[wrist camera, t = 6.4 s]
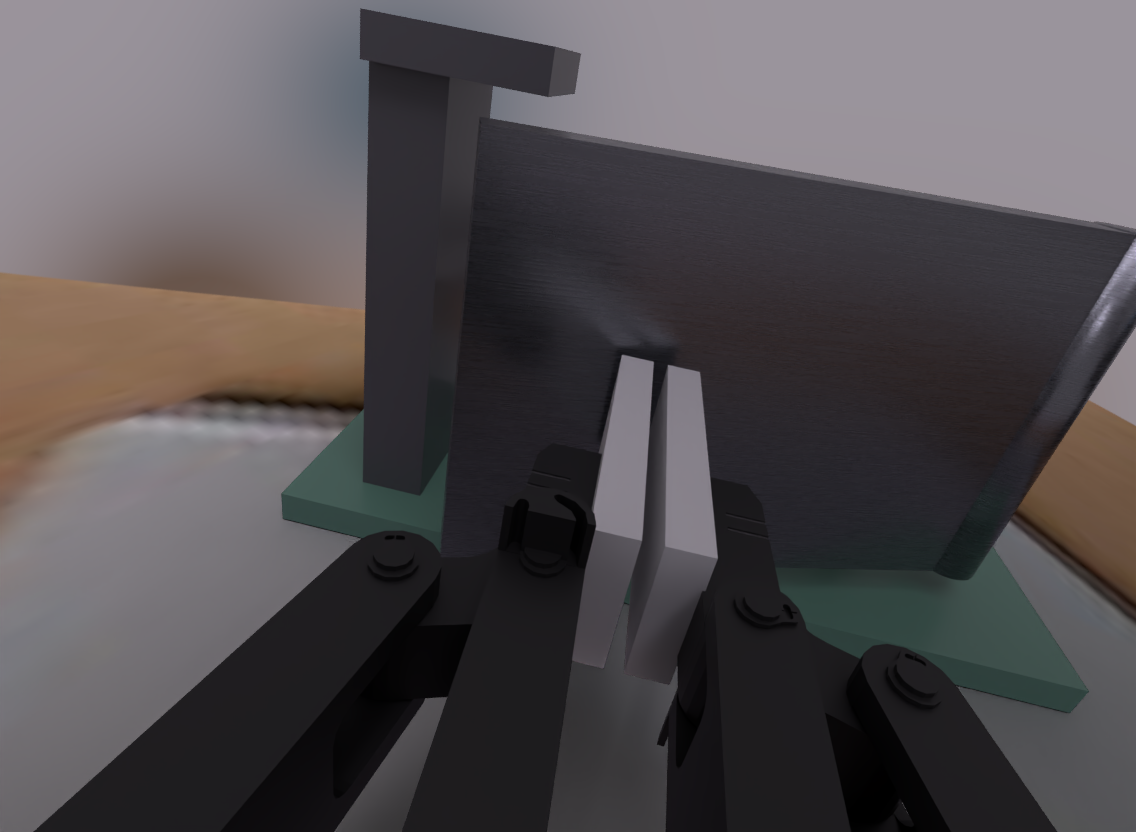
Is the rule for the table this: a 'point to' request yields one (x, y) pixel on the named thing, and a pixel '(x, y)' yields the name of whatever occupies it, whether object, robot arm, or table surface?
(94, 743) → the table surface
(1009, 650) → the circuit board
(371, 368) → the dark grey capped post
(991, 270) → the dark grey rectangular panel
